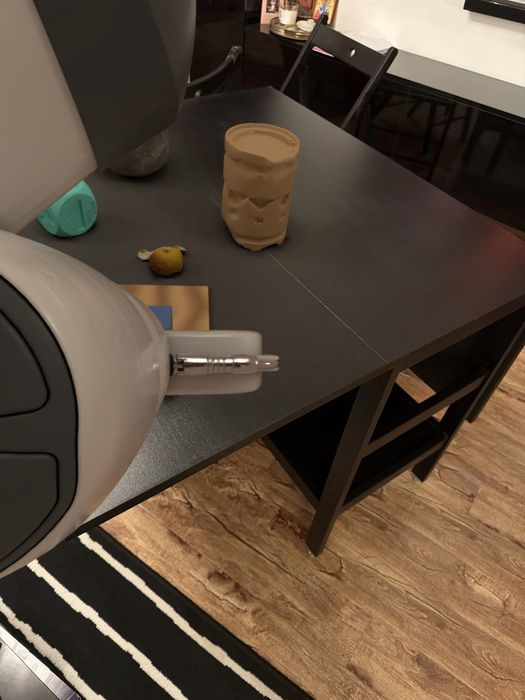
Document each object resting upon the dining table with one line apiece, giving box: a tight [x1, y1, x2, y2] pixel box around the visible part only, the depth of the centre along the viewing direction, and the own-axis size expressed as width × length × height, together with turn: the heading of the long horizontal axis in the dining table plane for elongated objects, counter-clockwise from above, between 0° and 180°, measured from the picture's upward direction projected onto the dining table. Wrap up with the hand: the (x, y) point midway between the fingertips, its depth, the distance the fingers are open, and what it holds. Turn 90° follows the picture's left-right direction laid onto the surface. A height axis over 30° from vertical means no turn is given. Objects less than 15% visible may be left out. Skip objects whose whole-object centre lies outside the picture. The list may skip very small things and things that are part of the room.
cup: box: [108, 127, 170, 177], centre depth 99 cm, size 18×18×15 cm
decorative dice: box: [36, 180, 98, 238], centre depth 85 cm, size 8×8×8 cm
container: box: [221, 122, 301, 252], centre depth 86 cm, size 13×13×18 cm
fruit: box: [136, 245, 187, 277], centre depth 81 cm, size 8×8×4 cm
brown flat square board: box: [117, 283, 210, 330], centre depth 73 cm, size 16×16×1 cm
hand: (120, 354), depth 37 cm, fingers open, 3 cm apart
